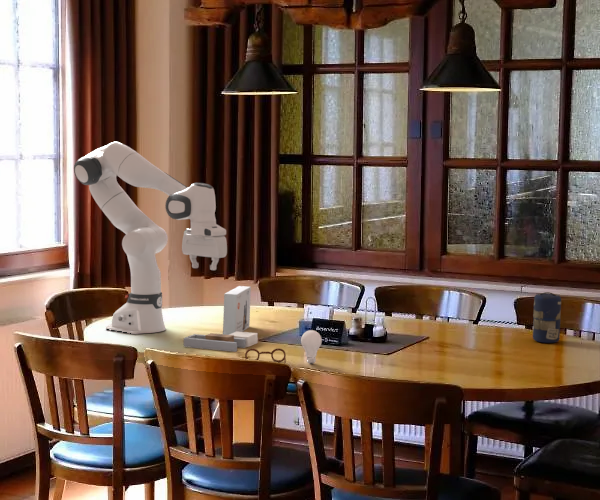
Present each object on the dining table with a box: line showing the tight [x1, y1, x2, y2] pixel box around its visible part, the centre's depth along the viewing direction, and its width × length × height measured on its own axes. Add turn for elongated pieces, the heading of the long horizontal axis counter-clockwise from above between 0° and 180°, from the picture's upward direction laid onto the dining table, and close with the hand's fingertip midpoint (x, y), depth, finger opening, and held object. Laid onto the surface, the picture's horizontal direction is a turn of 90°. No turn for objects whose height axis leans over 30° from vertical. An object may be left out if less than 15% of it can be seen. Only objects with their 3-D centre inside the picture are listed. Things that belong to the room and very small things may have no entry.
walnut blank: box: [204, 332, 234, 342], centre depth 356 cm, size 9×4×4 cm, turn 67°
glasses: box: [244, 348, 287, 363], centre depth 328 cm, size 13×13×5 cm
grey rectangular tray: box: [183, 333, 247, 353], centre depth 357 cm, size 20×8×3 cm, turn 67°
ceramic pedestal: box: [229, 331, 259, 348], centre depth 362 cm, size 8×8×4 cm
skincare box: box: [222, 285, 252, 335], centre depth 384 cm, size 21×6×16 cm, turn 168°
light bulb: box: [300, 329, 323, 365], centre depth 331 cm, size 7×7×11 cm
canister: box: [532, 291, 562, 344], centre depth 369 cm, size 10×10×18 cm
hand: (204, 269), depth 361 cm, fingers open, 8 cm apart
